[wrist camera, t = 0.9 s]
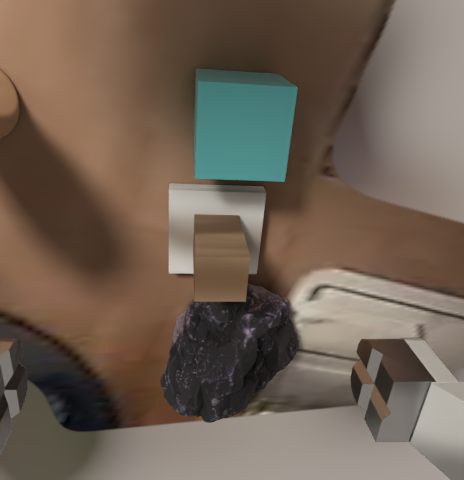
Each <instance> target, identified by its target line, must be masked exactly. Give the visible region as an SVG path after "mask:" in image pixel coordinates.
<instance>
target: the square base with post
mask: <svg viewBox="0 0 464 480" xmlns="http://www.w3.org/2000/svg"><path fill="white" fill-rule="evenodd" d="M265 200H266V191H265V189H264V187H263V186H237V185H207V184H177V183H170V184H169V273H183V274H194V302H246V294H247V285H248V275H249V274H257V268H258V259H259V251H260V242H261V234H262V226H263V217H264V209H265Z"/></svg>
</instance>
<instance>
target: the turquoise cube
mask: <svg viewBox="0 0 464 480" xmlns="http://www.w3.org/2000/svg"><path fill="white" fill-rule="evenodd" d="M297 91H298V87H297V86H295V85H294V84H292V83H291V82H289V81H288V80H286V79H285V78H283V77H282V76H280V75H279V74H273V73H258V72H243V71H228V70H213V69H198V68H196V74H195V109H194V143H193V154H194V173H195V179H221V180H250V181H279V182H285V177H286V170H287V163H288V155H289V148H290V141H291V134H292V127H293V119H294V112H295V105H296V98H297Z"/></svg>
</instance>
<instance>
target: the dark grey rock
mask: <svg viewBox="0 0 464 480" xmlns="http://www.w3.org/2000/svg"><path fill="white" fill-rule="evenodd" d="M288 314H289V308H288V300H287V298H283V297H280V296H279V295H278V294H274V293H272V292H270V291H268V290H266V289H264V288H263V287H260V286H255V285H252V284H249V283H248V285H247V294H246V302H194V300H193V301H191V302H190V303H189V304H188V306H187V309H186V311H184V312H183V313H181V314H180V315H179V316H178V317H177V320H176V324H175V328H174V333H173V339H172V344H171V350H170V353H169V360H168V362H167V368H166V371H165V373H164V374H163V376H162V377H161V380H160V382H161V387H162V388H163V390H164V397H165V399H166V400H167V402H168V403H169V404H170V405H171V406H172V408H173V409H174V410H175V411H176V412H177V413H179V414H180V415H182V416H189V417H190V416H193V415H194V416H197V417H199V416H202V418H203V420H204V421H205V422H214V421H216V420H219V419H222V418H228V417H230V416H233V415H235V414H237V413H239V412H241V411H242V410H244V409H245V408H246V407H247V405H248V403H249V401H250V400H251V398H252V397H253V396H255V395H256V394H257V393H258V391H260V390H262V389H264V388H265V386H266V384H267V383H268V382H269V381H270V380H272V378H273V377H274V376H275V374H276V373H277V372H279V371H280V370H282V369H284V368H285V367H286V366H287V365H288V364H289V363H290V361H291V360H292V359H293V357H294V355H296V351H297V349H298V347H299V344H298V339H297V334H296V333H295V331H294V327H293V324H292V322H291V321H290V319H289V316H288Z"/></svg>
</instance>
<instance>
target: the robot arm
mask: <svg viewBox="0 0 464 480" xmlns="http://www.w3.org/2000/svg"><path fill="white" fill-rule="evenodd" d="M23 354H24V353H23V348H22V343H21V342H20V341H19V340H18V339H0V454H1V452H2V450H3V448H4V446H5V443H6V441H7V439H8V437H9V435H10V433H11V430H12V423H11V418H12V417H14V416H15V415H16V414H18V413H19V412H20V410H21V408H22V406H23V403H24V400H25V396H26V391H27V372H26V369H25V368H24V367H23V366H22V365H21V364H20V363H19V362H20V360H21V358H22V356H23ZM357 354H358V356H359V357H360V360H359V361H358V362H357V363H356V364H355V365H354V366H353V369H352V374H351V388H352V392H353V396H354V398H355V400H356V402H357V404H358V405H359V406H360V407H362V408H363V409H364V410H366V411H367V412H366V415H365V421H366V423H367V425H368V427H369V429H370V431H371V433H372V435H373V437H374V439H375V441H376V442H410V444H411V445H412V446H413V447H415V448H416V449H417V450H418V451H419V452H420V453H421V454H423V455H424V456H425V457H426V458H427V459H428V460H429V461H430V462H432V463H433V464H434V465H435V466H436V467H437V468H438V469H439V470H441V471H442V472H443V473H444V474H445V475H446V476H447V477H449V478H450V479H451V480H464V382H458V381H457V380H456V379H455V377H454V376H453V375H452V374H451V372H450V371H449V370H448V369H447V368H446V366H445V365H444V364H443V363H442V362H441V360H440V359H439V358H438V357H437V356H436V354H435V353H434V352H433V351H432V350H431V348H430V347H429V346H428V345H427V344H426V342H425V341H424V340H422V339H420V338H400V339H362V340H361V341H360V343H359V345H358V348H357Z"/></svg>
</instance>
